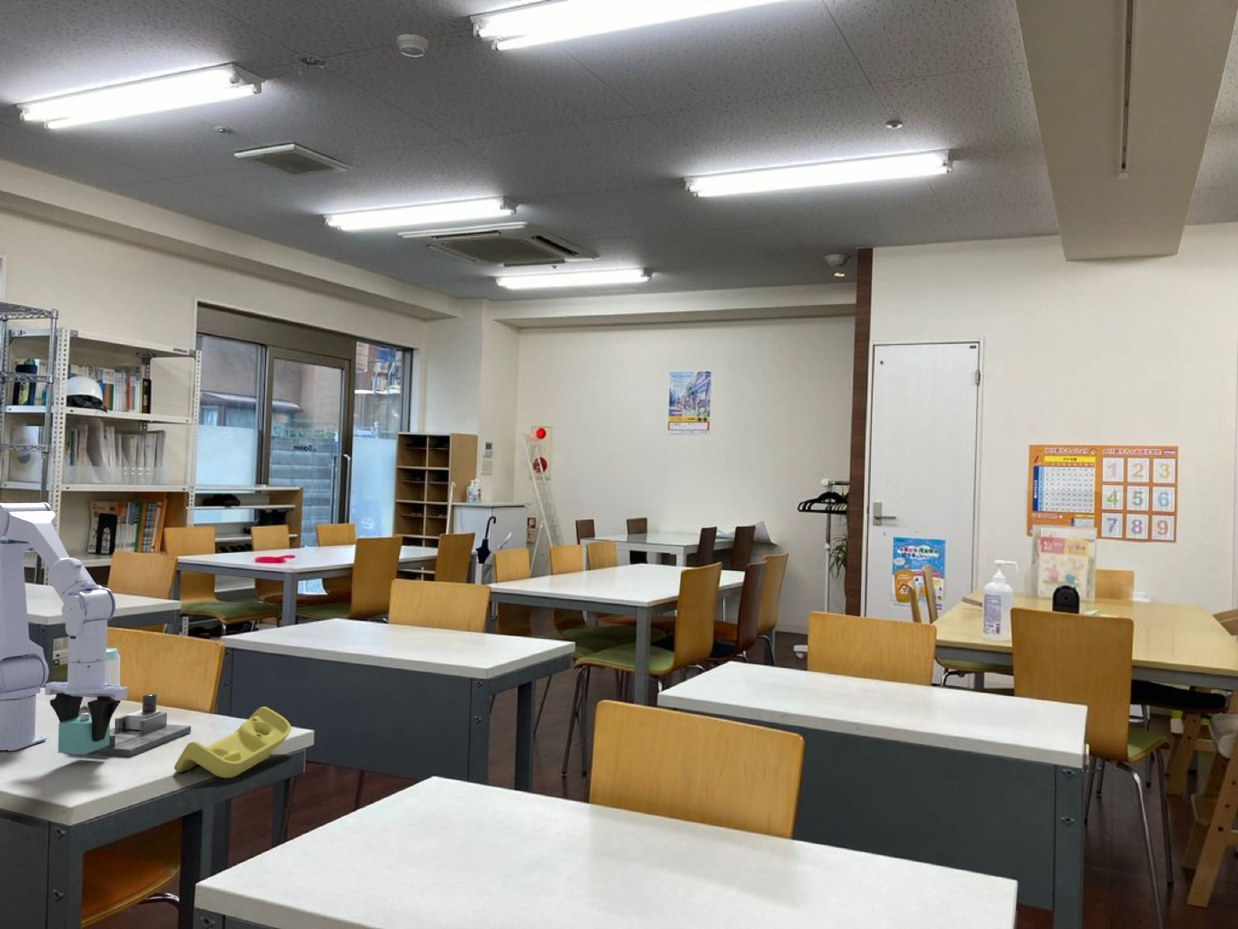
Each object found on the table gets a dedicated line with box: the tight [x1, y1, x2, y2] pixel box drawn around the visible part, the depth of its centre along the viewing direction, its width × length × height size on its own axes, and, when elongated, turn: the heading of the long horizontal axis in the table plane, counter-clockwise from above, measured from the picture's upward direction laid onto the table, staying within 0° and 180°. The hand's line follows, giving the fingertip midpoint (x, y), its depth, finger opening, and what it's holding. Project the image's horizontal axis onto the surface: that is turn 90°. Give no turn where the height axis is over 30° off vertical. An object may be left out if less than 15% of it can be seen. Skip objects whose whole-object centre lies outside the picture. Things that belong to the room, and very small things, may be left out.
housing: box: [57, 712, 111, 755], centre depth 164 cm, size 5×6×6 cm
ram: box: [125, 693, 163, 730], centre depth 182 cm, size 4×5×6 cm
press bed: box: [88, 711, 192, 757], centre depth 176 cm, size 13×17×4 cm
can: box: [81, 647, 121, 709], centre depth 204 cm, size 7×7×12 cm
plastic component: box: [173, 706, 292, 779], centre depth 166 cm, size 20×7×10 cm
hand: (84, 739), depth 164 cm, fingers closed on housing, 5 cm apart
